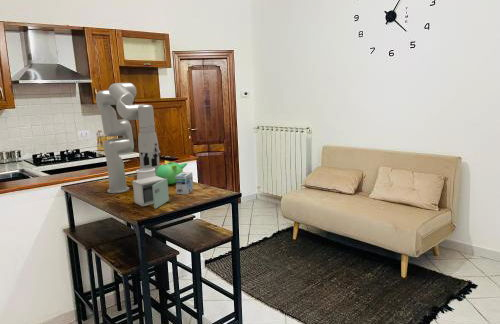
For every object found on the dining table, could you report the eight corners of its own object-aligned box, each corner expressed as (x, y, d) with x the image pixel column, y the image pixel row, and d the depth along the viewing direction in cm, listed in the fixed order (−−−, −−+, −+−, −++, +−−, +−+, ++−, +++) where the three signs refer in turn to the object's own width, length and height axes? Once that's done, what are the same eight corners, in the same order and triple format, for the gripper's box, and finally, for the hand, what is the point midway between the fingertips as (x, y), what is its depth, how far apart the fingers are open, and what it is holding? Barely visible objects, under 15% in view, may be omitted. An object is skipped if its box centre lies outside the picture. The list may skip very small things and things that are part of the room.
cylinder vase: (164, 177, 258) (161, 141, 254) (152, 181, 247) (149, 144, 242) (149, 176, 264) (146, 140, 259) (137, 180, 252) (134, 143, 248)
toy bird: (166, 179, 251) (164, 158, 248) (189, 180, 246) (187, 158, 243) (152, 186, 234) (150, 163, 231) (177, 187, 229) (175, 164, 226)
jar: (147, 198, 209) (145, 171, 206) (134, 196, 215) (132, 170, 212) (161, 193, 218) (159, 168, 215) (148, 191, 223) (146, 166, 221)
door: (154, 208, 189) (152, 185, 187) (167, 200, 203) (165, 178, 200) (157, 208, 189) (155, 185, 187) (170, 200, 202) (168, 178, 200)
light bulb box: (187, 194, 213) (186, 176, 211) (176, 194, 215) (174, 176, 213) (193, 189, 224) (192, 171, 222) (183, 189, 225) (181, 171, 223)
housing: (134, 202, 202) (132, 180, 200) (158, 196, 211) (156, 176, 208) (142, 206, 194) (140, 183, 192) (166, 200, 203) (165, 179, 201)
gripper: (129, 130, 189) (133, 165, 192) (153, 131, 180) (157, 168, 183) (141, 128, 195) (144, 163, 198) (165, 129, 186) (168, 165, 189)
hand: (150, 165), depth 191 cm, fingers open, 4 cm apart
